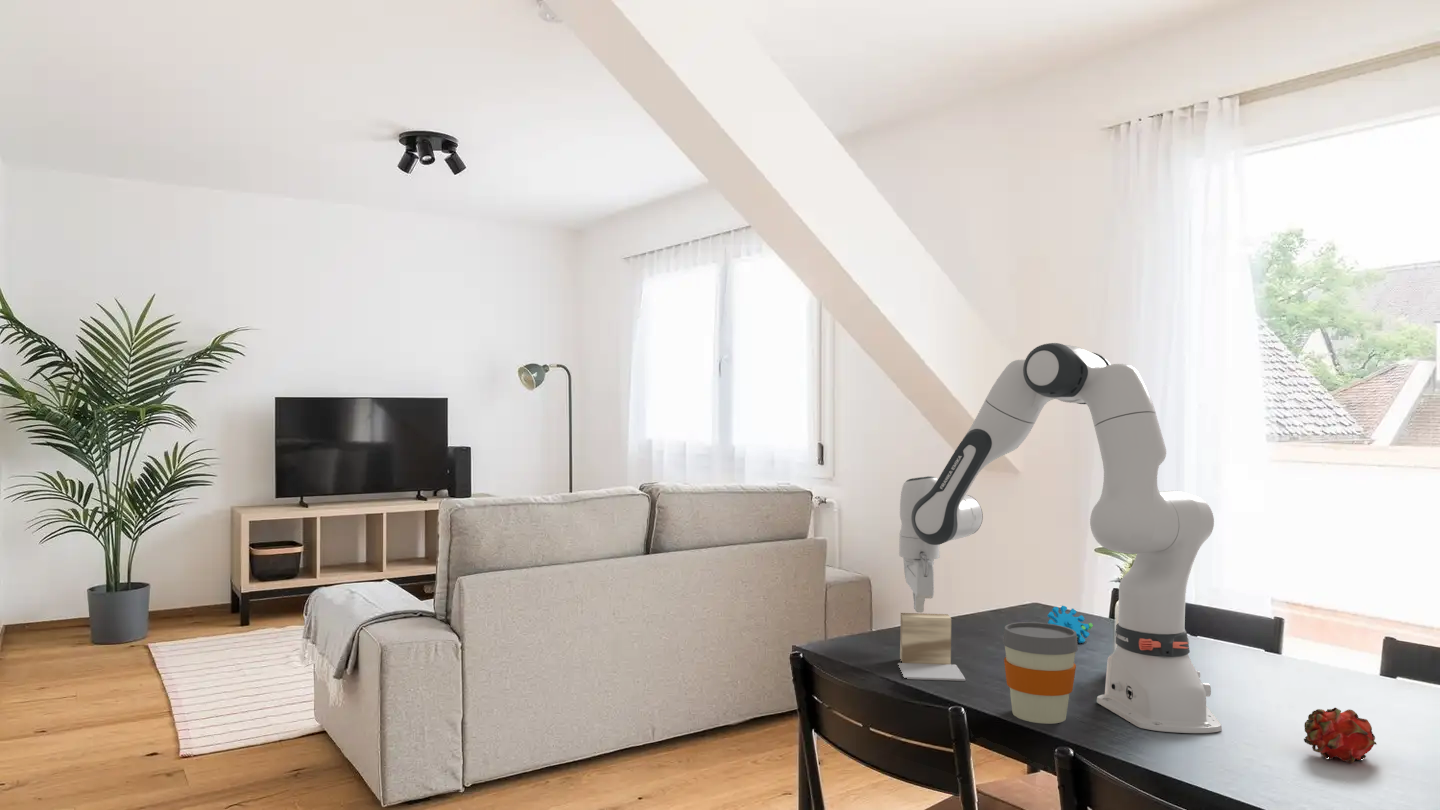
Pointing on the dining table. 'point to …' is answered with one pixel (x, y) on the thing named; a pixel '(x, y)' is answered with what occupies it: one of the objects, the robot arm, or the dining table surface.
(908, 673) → the mat
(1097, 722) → the dining table surface
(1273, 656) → the dining table surface
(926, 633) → the birch slab
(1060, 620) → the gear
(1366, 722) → the dragon fruit
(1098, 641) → the dining table surface
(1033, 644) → the reusable coffee cup
